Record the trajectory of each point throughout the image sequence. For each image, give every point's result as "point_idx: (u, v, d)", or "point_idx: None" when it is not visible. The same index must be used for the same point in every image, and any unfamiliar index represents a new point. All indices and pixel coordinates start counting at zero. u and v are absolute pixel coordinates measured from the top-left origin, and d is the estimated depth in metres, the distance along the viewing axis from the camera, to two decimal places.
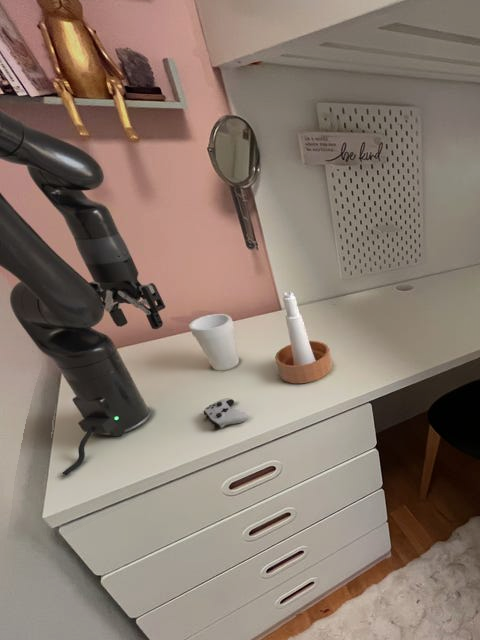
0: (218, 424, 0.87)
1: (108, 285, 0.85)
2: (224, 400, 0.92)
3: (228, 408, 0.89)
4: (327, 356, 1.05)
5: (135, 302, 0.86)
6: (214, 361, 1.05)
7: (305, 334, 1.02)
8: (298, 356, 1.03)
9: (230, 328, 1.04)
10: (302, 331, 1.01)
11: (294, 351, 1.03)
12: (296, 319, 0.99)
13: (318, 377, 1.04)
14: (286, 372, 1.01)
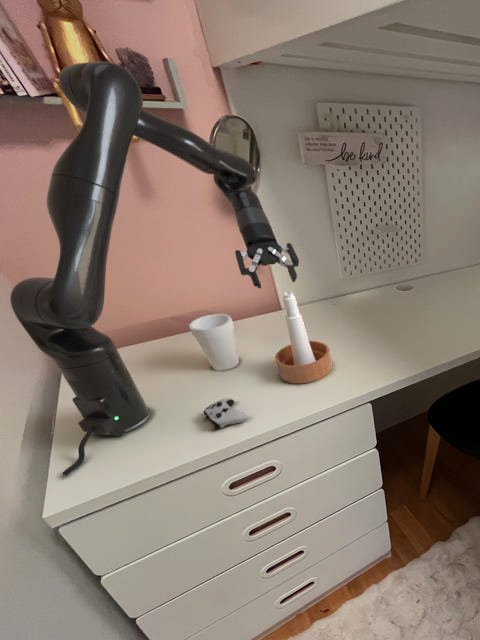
0: (218, 424, 0.87)
1: (256, 248, 1.04)
2: (224, 400, 0.92)
3: (228, 408, 0.89)
4: (327, 356, 1.05)
5: (281, 255, 1.06)
6: (214, 361, 1.05)
7: (305, 334, 1.02)
8: (298, 356, 1.03)
9: (230, 328, 1.04)
10: (302, 331, 1.01)
11: (294, 351, 1.03)
12: (296, 319, 0.99)
13: (318, 377, 1.04)
14: (286, 372, 1.01)
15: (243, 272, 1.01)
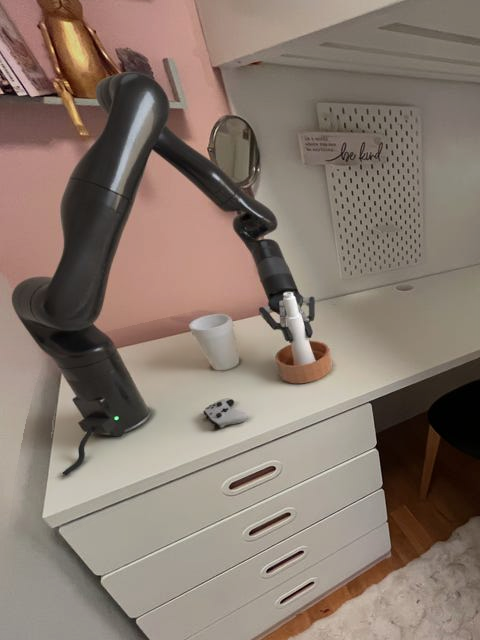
0: (218, 424, 0.87)
1: (278, 299, 1.01)
2: (224, 400, 0.92)
3: (228, 408, 0.89)
4: (327, 356, 1.05)
5: None
6: (214, 361, 1.05)
7: (305, 334, 1.02)
8: (298, 356, 1.03)
9: (230, 328, 1.04)
10: (302, 331, 1.01)
11: (294, 351, 1.03)
12: (296, 319, 0.99)
13: (318, 377, 1.04)
14: (286, 372, 1.01)
15: (275, 327, 0.99)
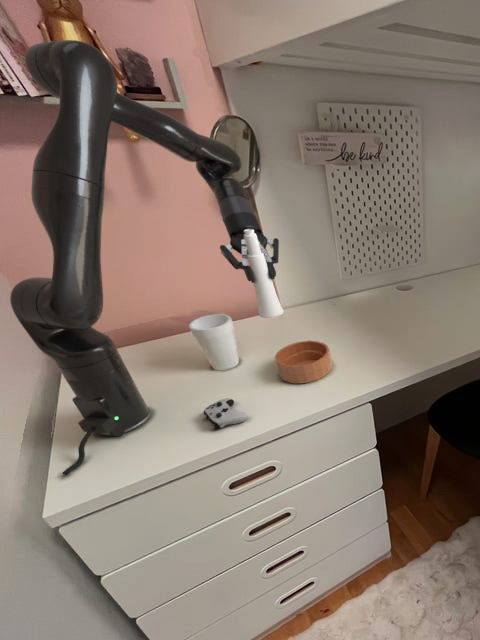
0: (218, 424, 0.87)
1: (240, 238, 0.99)
2: (224, 400, 0.92)
3: (228, 408, 0.89)
4: (327, 356, 1.05)
5: None
6: (214, 361, 1.05)
7: (268, 275, 1.01)
8: (261, 298, 1.02)
9: (230, 328, 1.04)
10: (265, 271, 1.00)
11: (257, 292, 1.02)
12: (258, 257, 0.97)
13: (318, 377, 1.04)
14: (286, 372, 1.01)
15: (236, 266, 0.98)
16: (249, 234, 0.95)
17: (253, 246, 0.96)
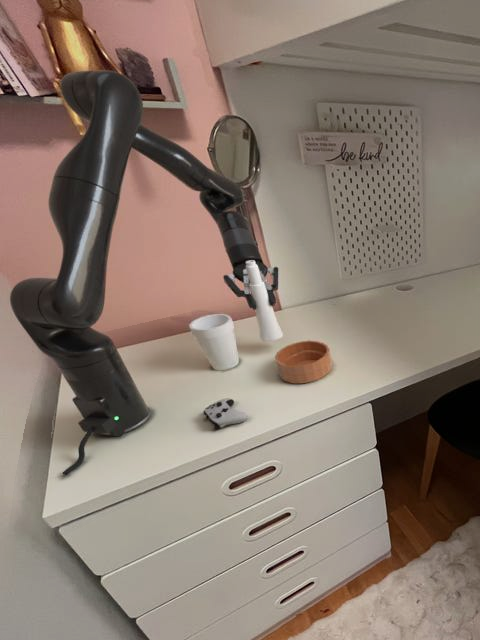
0: (218, 424, 0.87)
1: (242, 268, 1.06)
2: (224, 400, 0.92)
3: (228, 408, 0.89)
4: (327, 356, 1.05)
5: None
6: (214, 361, 1.05)
7: (268, 302, 1.07)
8: (262, 323, 1.08)
9: (230, 328, 1.04)
10: (265, 299, 1.06)
11: (258, 318, 1.08)
12: (259, 286, 1.04)
13: (318, 377, 1.04)
14: (286, 372, 1.01)
15: (239, 294, 1.04)
16: (251, 265, 1.01)
17: (254, 276, 1.03)
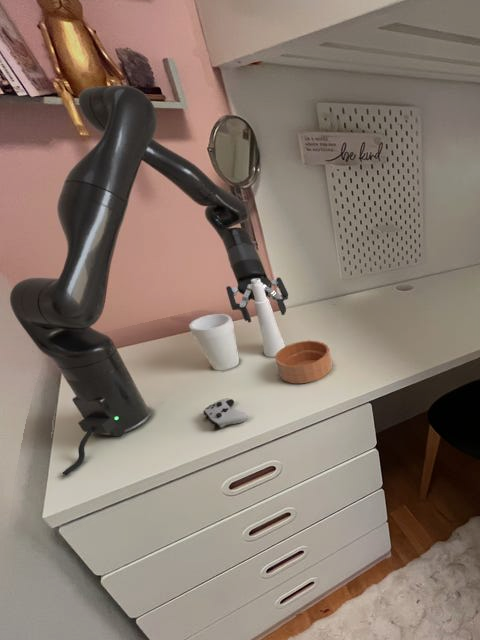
0: (218, 424, 0.87)
1: (247, 283, 1.08)
2: (224, 400, 0.92)
3: (228, 408, 0.89)
4: (327, 356, 1.05)
5: (271, 289, 1.10)
6: (214, 361, 1.05)
7: (273, 318, 1.10)
8: (267, 339, 1.11)
9: (230, 328, 1.04)
10: (270, 315, 1.09)
11: (263, 334, 1.11)
12: (264, 304, 1.07)
13: (318, 377, 1.04)
14: (286, 372, 1.01)
15: (234, 307, 1.06)
16: (256, 283, 1.04)
17: (259, 294, 1.05)
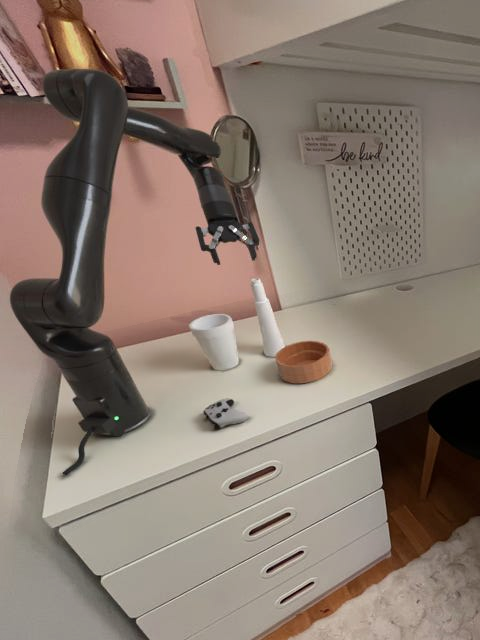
0: (218, 424, 0.87)
1: (217, 225, 1.08)
2: (224, 400, 0.92)
3: (228, 408, 0.89)
4: (327, 356, 1.05)
5: (242, 234, 1.10)
6: (214, 361, 1.05)
7: (273, 318, 1.10)
8: (267, 339, 1.11)
9: (230, 328, 1.04)
10: (270, 315, 1.09)
11: (263, 334, 1.11)
12: (263, 304, 1.06)
13: (318, 377, 1.04)
14: (286, 372, 1.01)
15: (203, 248, 1.06)
16: (256, 283, 1.04)
17: (259, 294, 1.05)
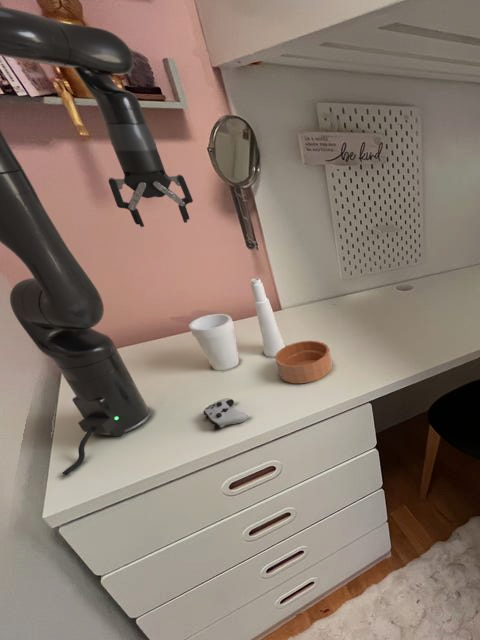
0: (218, 424, 0.87)
1: (137, 178, 0.88)
2: (224, 400, 0.92)
3: (228, 408, 0.89)
4: (327, 356, 1.05)
5: (171, 193, 0.92)
6: (214, 361, 1.05)
7: (273, 318, 1.10)
8: (267, 339, 1.11)
9: (230, 328, 1.04)
10: (270, 315, 1.09)
11: (263, 334, 1.11)
12: (263, 304, 1.06)
13: (318, 377, 1.04)
14: (286, 372, 1.01)
15: None
16: (256, 283, 1.04)
17: (259, 294, 1.05)
